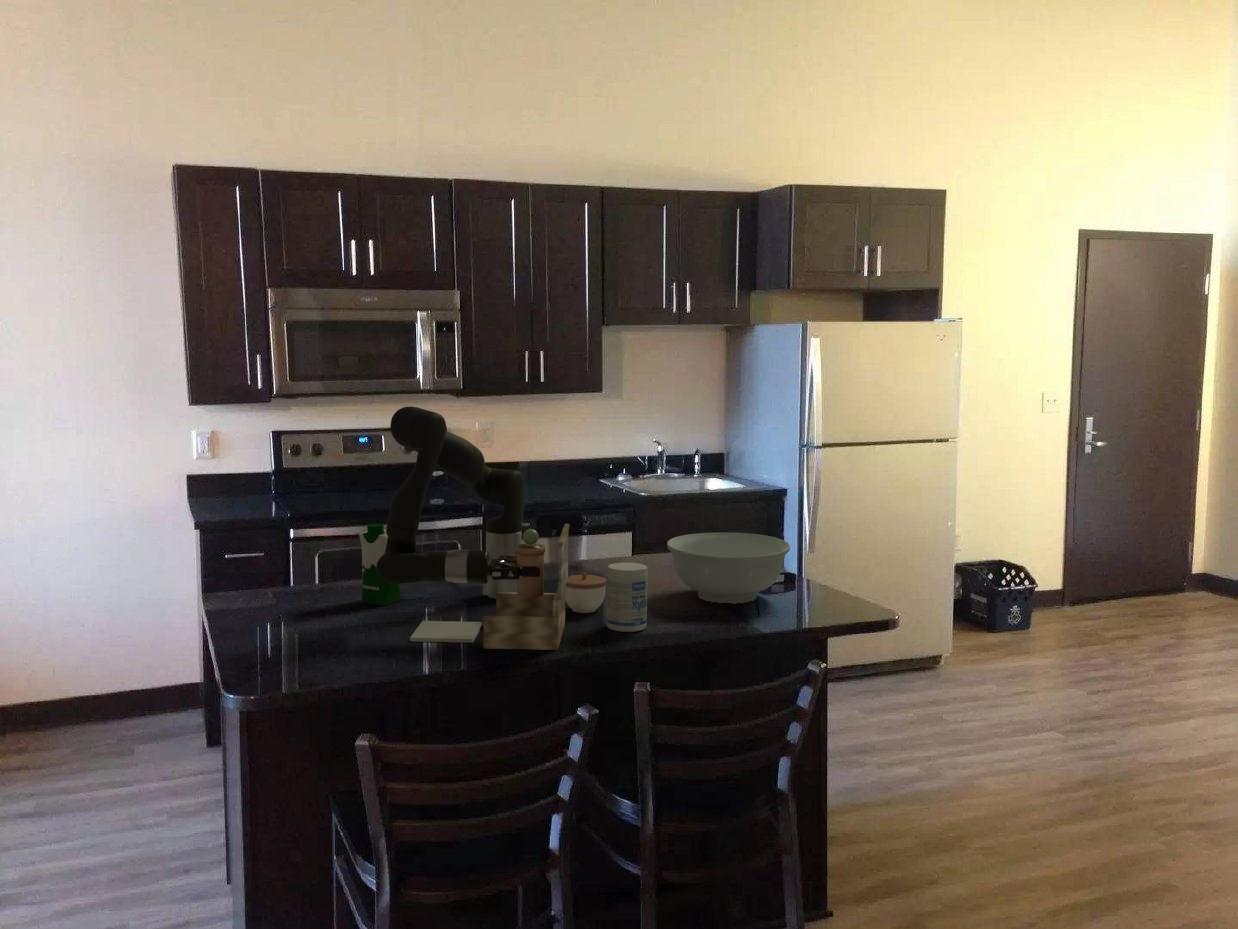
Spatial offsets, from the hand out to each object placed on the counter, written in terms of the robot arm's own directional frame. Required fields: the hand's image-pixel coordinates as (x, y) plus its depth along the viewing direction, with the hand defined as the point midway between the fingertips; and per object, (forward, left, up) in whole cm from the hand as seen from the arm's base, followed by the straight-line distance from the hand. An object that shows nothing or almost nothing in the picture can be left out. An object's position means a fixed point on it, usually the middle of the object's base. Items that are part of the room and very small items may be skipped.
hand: (541, 568), depth 239 cm
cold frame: (-3, -2, -15) cm, 16 cm away
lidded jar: (-4, +24, -16) cm, 29 cm away
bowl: (+20, +56, -16) cm, 62 cm away
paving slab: (-18, -11, -15) cm, 26 cm away
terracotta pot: (-2, -1, -6) cm, 6 cm away
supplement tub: (+13, +16, -16) cm, 26 cm away
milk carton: (-51, +2, -16) cm, 53 cm away
